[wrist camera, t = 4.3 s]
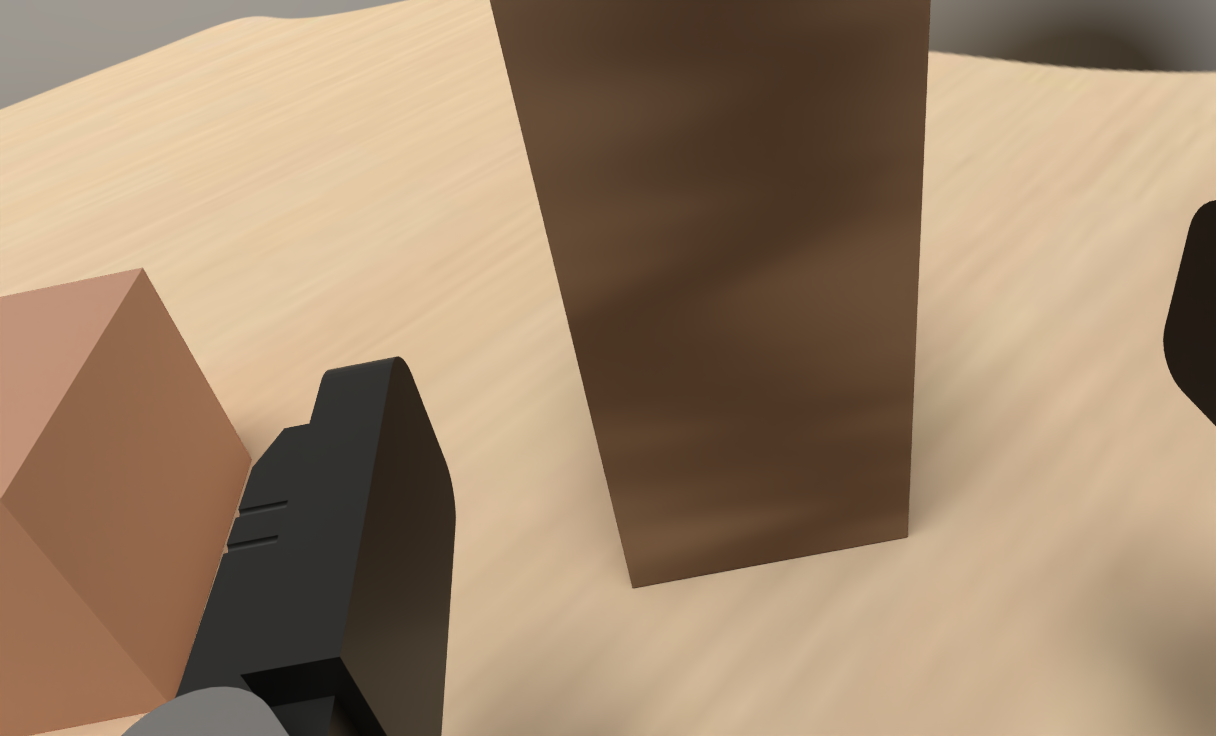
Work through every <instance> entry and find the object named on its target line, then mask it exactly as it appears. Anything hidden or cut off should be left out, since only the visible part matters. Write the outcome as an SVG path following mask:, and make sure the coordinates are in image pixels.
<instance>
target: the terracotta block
mask: <svg viewBox="0 0 1216 736" xmlns="http://www.w3.org/2000/svg"><path fill="white" fill-rule="evenodd" d="M250 463H251V457H250V456H249V454H248V452H247V450H246V449H245V447H244V445H243V443H242V442H241V440H240V438H239V436H238V435H237V433H236V431H235V429H234V427H233V426H232V424H231V422H230V420H229V419H228V417H227V415H226V413H225V412H224V410H223V408H222V406H221V405H220V403H219V401H218V399H217V398H216V396H215V394H214V392H213V391H212V389H211V387H210V385H209V383H208V382H207V380H206V378H205V376H204V375H203V373H202V371H201V369H200V368H199V366H198V364H197V362H196V361H195V359H194V357H193V355H192V354H191V352H190V350H189V348H188V346H187V345H186V343H185V341H184V339H183V338H182V336H181V334H180V332H179V331H178V329H177V327H176V325H175V324H174V322H173V320H172V318H171V317H170V315H169V313H168V311H167V309H166V308H165V306H164V304H163V302H162V301H161V299H160V297H159V295H158V294H157V292H156V290H155V288H154V287H153V285H152V283H151V281H150V280H149V278H148V276H147V274H146V272H145V271H144V269H143V268H139V269H134V270H129V271H125V272H120V273H115V274H110V275H105V276H100V277H95V278H91V279H86V280H81V281H76V282H71V283H66V284H61V285H57V286H52V287H47V288H42V289H37V290H32V291H27V292H23V293H18V294H13V295H8V296H3V297H0V736H29V735H35V734H40V733H45V732H50V731H55V730H60V729H65V728H71V727H76V726H81V725H86V724H91V723H96V722H102V721H107V720H112V719H117V718H122V717H127V716H132V715H138V714H143V713H148V712H151V711H153V710H154V709H156V708H158V707H159V706H161V705H163V704H165V703H167V702H169V701H171V700H173V699H175V696H176V694H177V691H178V689H179V686H180V682H181V679H182V676H183V673H184V670H185V667H186V664H187V661H188V657H189V654H190V651H191V648H192V645H193V642H194V639H195V635H196V632H197V629H198V626H199V623H200V620H201V617H202V613H203V610H204V607H205V604H206V601H207V598H208V595H209V591H210V588H211V585H212V582H213V579H214V576H215V573H216V569H217V566H218V563H219V560H220V557H221V554H222V551H223V547H224V544H225V541H226V538H227V535H228V532H229V529H230V525H231V522H232V519H233V516H234V513H235V510H236V507H237V503H238V500H239V497H240V494H241V491H242V488H243V485H244V481H245V478H246V475H247V472H248V469H249V466H250Z"/></svg>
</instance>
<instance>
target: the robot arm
mask: <svg viewBox="0 0 1216 736" xmlns="http://www.w3.org/2000/svg"><path fill="white" fill-rule="evenodd" d="M1163 344H1164V353H1165V358H1166V362H1167V365H1168V368H1169V370H1170V373H1171V375H1172V377H1173V379H1174V381H1175V382H1176V384H1177V385H1178V387H1179V388H1180V389H1181V390H1182V391H1183V392H1184V393H1185V395H1186V396H1187V397H1188V398H1189V399H1190V400H1191V401H1192V402H1193V403H1194V404H1195V405H1196V406H1197V407H1198V408H1199V409H1200V410H1201V411H1202V412H1203V413H1204V414H1205V415H1206V416H1207V417H1208V418H1209V420H1210V421H1211V422H1212V423H1213V424H1214V425H1215V426H1216V200H1215V201H1210V202H1208V203H1206V204H1204V205H1203V206H1202V207H1200V208H1199V209H1198V211H1197V212H1196V213H1195V215H1194V217H1193V219H1192V221H1191V224H1190V227H1189V231H1188V235H1187V239H1186V243H1185V247H1184V251H1183V255H1182V259H1181V264H1180V268H1179V272H1178V276H1177V280H1176V284H1175V288H1174V292H1173V296H1172V300H1171V304H1170V308H1169V312H1168V316H1167V320H1166V324H1165V329H1164V338H1163ZM238 510H239V513H240V517H238V518H235V521H234V524H233V527H232V530H231V533H230V536H229V539H228V542H227V546H228V553H225V554H223V557H222V560H221V563H220V566H219V569H218V572H217V575H216V578H215V581H214V584H213V587H212V590H211V593H210V596H209V599H208V602H207V605H206V608H205V611H204V614H203V617H202V620H201V623H200V626H199V629H198V632H197V635H196V638H195V641H194V644H193V647H192V650H191V653H190V656H189V659H188V662H187V665H186V668H185V671H184V674H183V677H182V680H181V683H180V686H179V689H178V691H177V694H176V696H175V699H173V700H171V701H169V702H167V703H165V704H163V705H161V706H159V707H158V708H156V709H154V710H153V711H151V712H150V713H148V714H147V715H145V716H144V717H143V718H141V719H140V720H139V721H138V722H136V723H135V724H134V725H132V726H131V727H130V728H129V729H128V730H127V731H126V732H125V733H124V734H123V735H122V736H441V732H442V717H443V702H444V687H445V673H446V658H447V643H448V628H449V614H450V599H451V584H452V569H453V554H454V540H455V525H456V511H455V500H454V493H453V487H452V482H451V478H450V474H449V470H448V467H447V464H446V461H445V458H444V456H443V453H442V451H441V448H440V446H439V443H438V440H437V438H436V435H435V433H434V430H433V428H432V425H431V422H430V420H429V417H428V415H427V412H426V410H425V407H424V405H423V402H422V399H421V397H420V394H419V392H418V389H417V387H416V384H415V381H414V379H413V376H412V374H411V372H410V369H409V367H408V366H407V364H406V362H405V361H404V360H403V359H402V358H401V357H393V358H387V359H382V360H377V361H372V362H367V363H362V364H356V365H351V366H346V367H341V368H336V369H331V370H328V371H326V372H325V374H324V375H323V377H322V380H321V384H320V387H319V391H318V395H317V398H316V402H315V405H314V409H313V413H312V416H311V420H310V423H309V424H305V425H300V426H294V427H289V428H284V429H283V431H282V432H281V433H280V434H279V436H278V437H277V438H276V439H275V441H274V442H273V443H272V444H271V445H270V447H269V448H268V449H267V450H266V452H265V453H264V454H263V455H262V457H261V458H260V459H259V460H258V461H257V463H256V464H255V465H254V466H253V468H252V470H251V473H250V476H249V479H248V482H247V485H246V488H245V491H244V494H243V497H242V500H241V503H240V506H239V509H238Z"/></svg>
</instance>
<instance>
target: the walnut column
mask: <svg viewBox="0 0 1216 736" xmlns="http://www.w3.org/2000/svg"><path fill="white" fill-rule="evenodd" d="M930 1H931V0H490V3H491V7H492V11H493V15H494V20H495V24H496V28H497V32H498V36H499V40H500V44H501V48H502V53H503V57H504V61H505V65H506V69H507V73H508V77H509V81H510V85H511V90H512V94H513V98H514V102H515V106H516V110H517V114H518V118H519V122H520V127H521V131H522V135H523V139H524V143H525V147H526V151H527V155H528V160H529V164H530V168H531V172H532V176H533V180H534V184H535V188H536V192H537V197H538V201H539V205H540V209H541V213H542V217H543V221H544V225H545V229H546V234H547V238H548V242H549V246H550V250H551V254H552V258H553V262H554V266H555V271H556V275H557V279H558V283H559V287H560V291H561V295H562V299H563V304H564V308H565V312H566V316H567V320H568V324H569V328H570V332H571V336H572V341H573V345H574V349H575V353H576V357H577V361H578V365H579V369H580V373H581V378H582V382H583V386H584V390H585V394H586V398H587V402H588V406H589V410H590V415H591V419H592V423H593V427H594V431H595V435H596V439H597V443H598V448H599V452H600V456H601V460H602V464H603V468H604V472H605V476H606V480H607V485H608V489H609V493H610V497H611V501H612V505H613V509H614V513H615V517H616V522H617V526H618V530H619V534H620V538H621V542H622V546H623V550H624V555H625V559H626V563H627V567H628V571H629V575H630V579H631V583H632V587H633V588H636V587H641V586H647V585H652V584H657V583H663V582H668V581H674V580H679V579H684V578H690V577H695V576H700V575H706V574H711V573H717V572H722V571H727V570H733V569H738V568H743V567H749V566H754V565H760V564H765V563H770V562H776V561H781V560H787V559H792V558H797V557H803V556H808V555H813V554H819V553H824V552H830V551H835V550H840V549H846V548H851V547H856V546H862V545H867V544H873V543H878V542H883V541H889V540H894V539H899V538H905V537H908V514H909V491H910V467H911V444H912V421H913V398H914V374H915V351H916V328H917V304H918V281H919V258H920V235H921V211H922V188H923V165H924V141H925V118H926V95H927V72H928V48H929V24H930Z"/></svg>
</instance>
